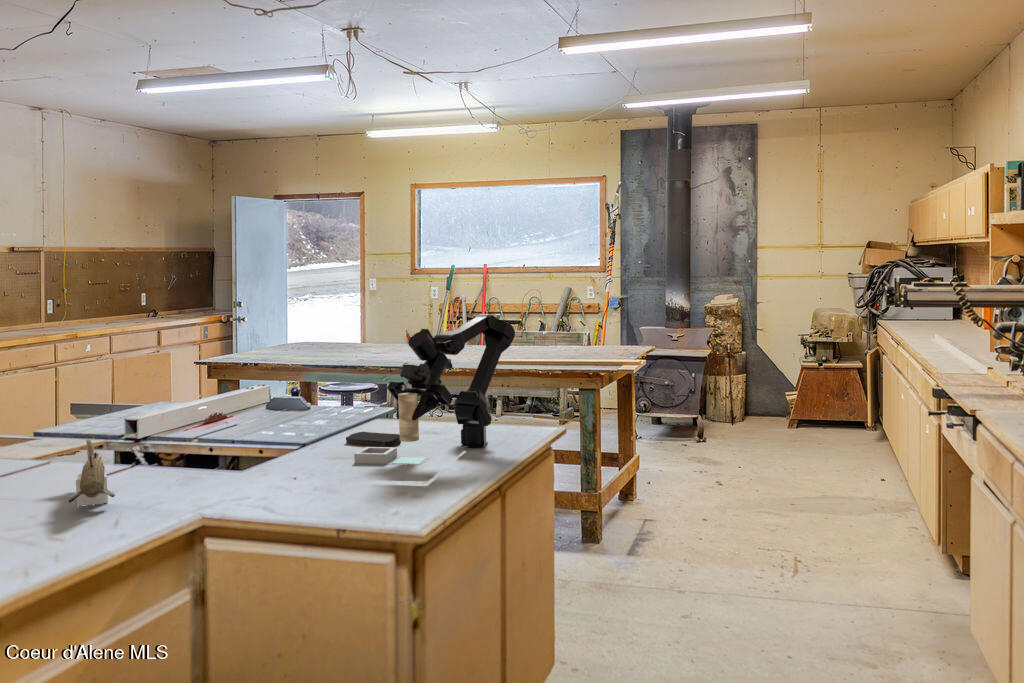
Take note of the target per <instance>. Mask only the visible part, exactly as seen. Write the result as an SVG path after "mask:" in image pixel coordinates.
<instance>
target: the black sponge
mask: <svg viewBox="0 0 1024 683" xmlns="http://www.w3.org/2000/svg"><path fill="white" fill-rule="evenodd" d="M345 441H346V442H345V443H346V445H350V446H351V445H352V446H363V447H395V446H400V445H401V444H402V441H400V433H399V434H398V433H383V432H382V433H381V432H372V431H371V432H369V431H360V432H359V431H358V432H354V433H351V434H349V435H348V436H346V437H345Z"/></svg>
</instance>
